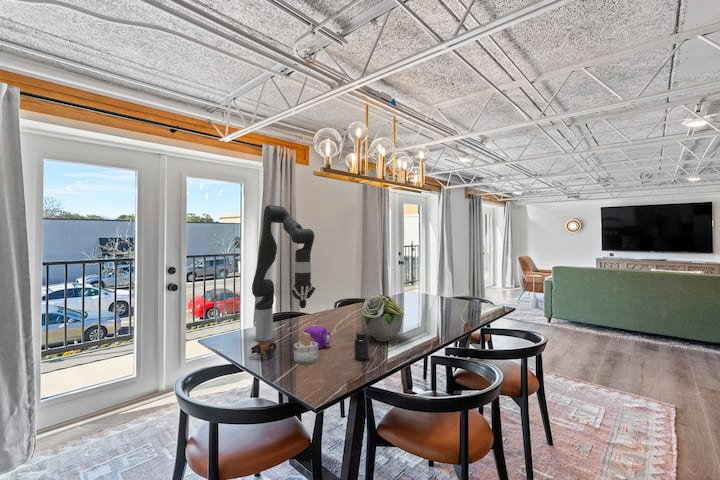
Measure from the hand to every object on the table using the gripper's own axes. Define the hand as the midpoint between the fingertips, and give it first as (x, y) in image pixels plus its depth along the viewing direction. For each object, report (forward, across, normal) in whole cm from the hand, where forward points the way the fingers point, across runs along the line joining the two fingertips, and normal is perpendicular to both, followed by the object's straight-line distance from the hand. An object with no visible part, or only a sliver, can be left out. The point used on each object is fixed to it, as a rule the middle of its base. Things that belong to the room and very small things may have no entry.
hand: (302, 307), depth 161 cm
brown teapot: (+24, +14, -12) cm, 30 cm away
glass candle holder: (+23, 0, +4) cm, 24 cm away
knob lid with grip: (+18, 0, +4) cm, 18 cm away
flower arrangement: (+23, -48, +3) cm, 53 cm away
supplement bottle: (+23, -21, +19) cm, 36 cm away
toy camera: (+24, -14, -9) cm, 29 cm away
